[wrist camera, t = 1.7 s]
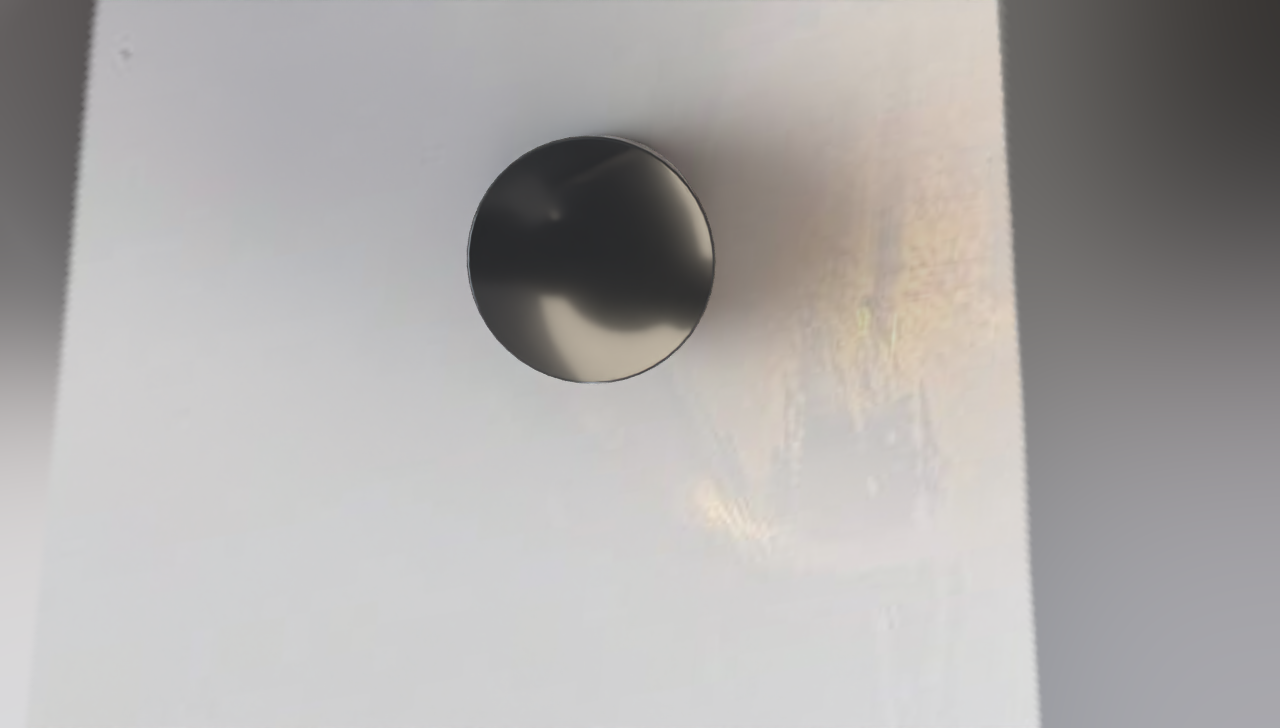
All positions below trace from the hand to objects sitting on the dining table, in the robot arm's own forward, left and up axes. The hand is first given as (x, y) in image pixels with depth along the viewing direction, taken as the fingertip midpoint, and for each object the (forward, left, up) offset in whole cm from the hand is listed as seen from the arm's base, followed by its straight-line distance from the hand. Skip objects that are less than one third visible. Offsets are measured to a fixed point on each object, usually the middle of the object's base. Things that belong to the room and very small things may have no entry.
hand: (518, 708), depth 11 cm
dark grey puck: (-3, +2, -14) cm, 15 cm away
